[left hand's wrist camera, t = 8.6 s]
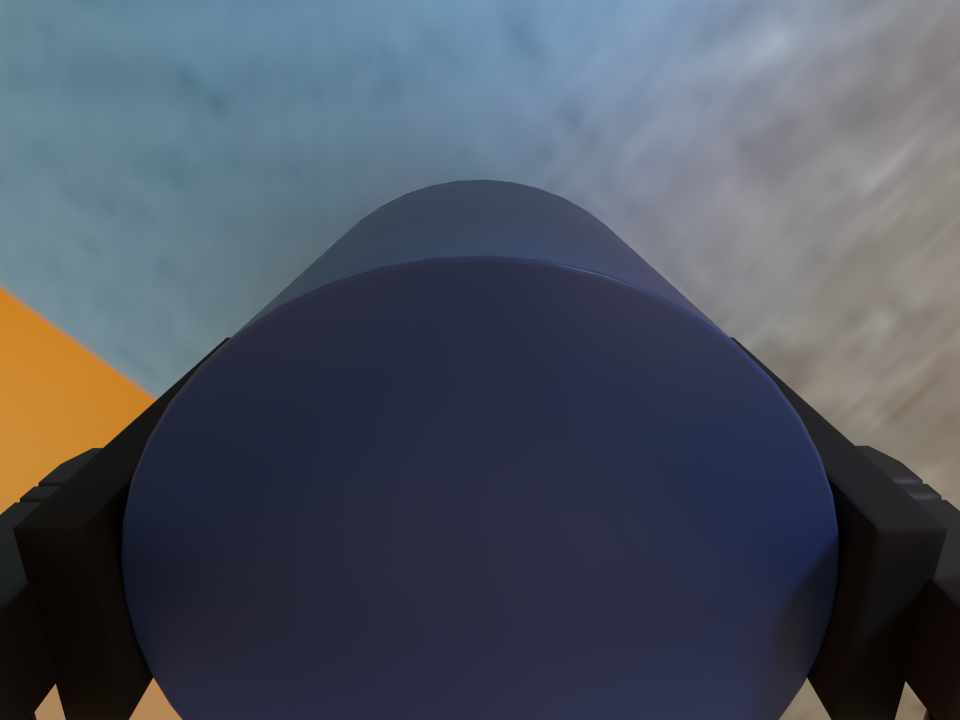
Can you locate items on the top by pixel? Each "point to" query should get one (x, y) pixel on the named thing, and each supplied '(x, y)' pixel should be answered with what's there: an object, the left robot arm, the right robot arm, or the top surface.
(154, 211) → the top surface
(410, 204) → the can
